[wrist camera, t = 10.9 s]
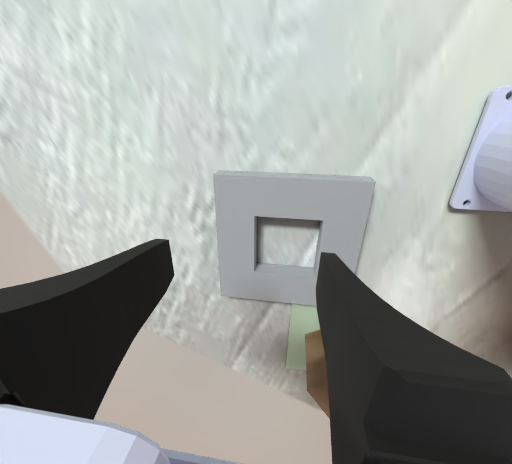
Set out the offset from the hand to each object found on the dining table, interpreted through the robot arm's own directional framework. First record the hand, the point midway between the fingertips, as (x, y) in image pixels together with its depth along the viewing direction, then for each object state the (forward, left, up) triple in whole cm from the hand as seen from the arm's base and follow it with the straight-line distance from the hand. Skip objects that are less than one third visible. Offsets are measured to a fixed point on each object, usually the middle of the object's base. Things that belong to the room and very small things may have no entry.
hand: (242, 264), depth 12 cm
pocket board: (-2, +4, -10) cm, 11 cm away
